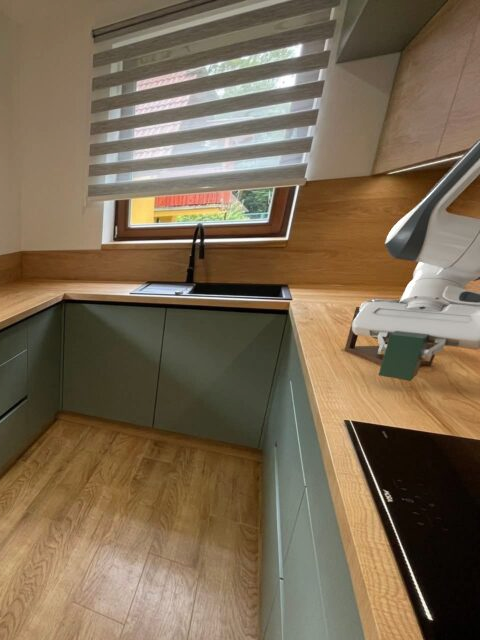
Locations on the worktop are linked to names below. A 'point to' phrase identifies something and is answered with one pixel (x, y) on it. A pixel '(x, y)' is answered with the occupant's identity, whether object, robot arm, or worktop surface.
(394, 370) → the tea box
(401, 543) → the worktop surface
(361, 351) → the rack
